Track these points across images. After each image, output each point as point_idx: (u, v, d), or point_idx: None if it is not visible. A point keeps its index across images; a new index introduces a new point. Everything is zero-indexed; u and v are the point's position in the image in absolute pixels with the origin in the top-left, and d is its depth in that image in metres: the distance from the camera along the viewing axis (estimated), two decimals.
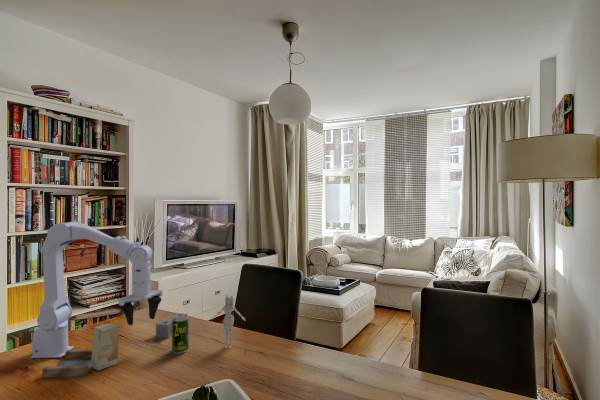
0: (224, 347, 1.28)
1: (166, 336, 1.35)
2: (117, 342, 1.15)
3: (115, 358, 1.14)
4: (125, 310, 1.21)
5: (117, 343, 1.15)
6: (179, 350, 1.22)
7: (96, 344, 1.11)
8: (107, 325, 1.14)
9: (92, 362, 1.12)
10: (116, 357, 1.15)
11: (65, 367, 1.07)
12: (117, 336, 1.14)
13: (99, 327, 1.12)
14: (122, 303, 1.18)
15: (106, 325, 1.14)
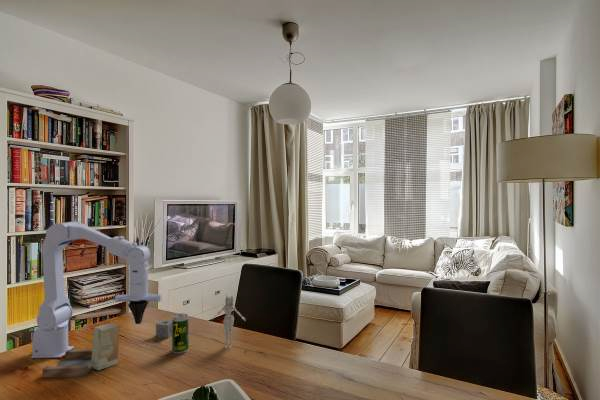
0: (224, 347, 1.28)
1: (166, 336, 1.35)
2: (117, 342, 1.15)
3: (115, 358, 1.14)
4: None
5: (117, 343, 1.15)
6: (179, 350, 1.22)
7: (96, 344, 1.11)
8: (107, 325, 1.14)
9: (92, 362, 1.12)
10: (116, 357, 1.15)
11: (65, 367, 1.07)
12: (117, 336, 1.14)
13: (99, 327, 1.12)
14: (116, 300, 1.20)
15: (106, 325, 1.14)
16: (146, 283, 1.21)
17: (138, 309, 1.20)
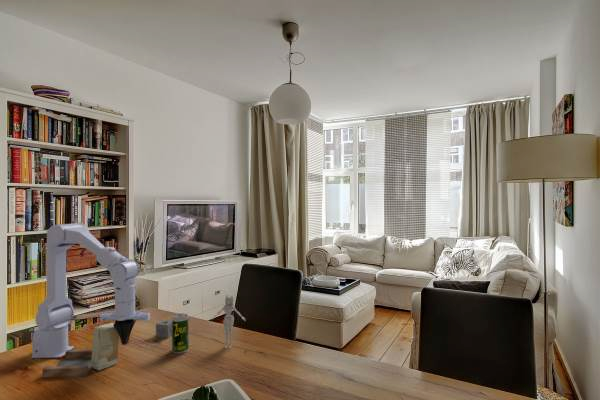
0: (224, 347, 1.28)
1: (166, 336, 1.35)
2: (117, 342, 1.15)
3: (115, 358, 1.14)
4: None
5: (117, 343, 1.15)
6: (179, 350, 1.22)
7: (96, 344, 1.11)
8: (107, 325, 1.14)
9: (92, 362, 1.12)
10: (116, 357, 1.15)
11: (65, 367, 1.07)
12: (117, 336, 1.14)
13: (99, 327, 1.12)
14: (100, 319, 1.12)
15: (106, 325, 1.14)
16: (133, 301, 1.13)
17: (124, 329, 1.12)
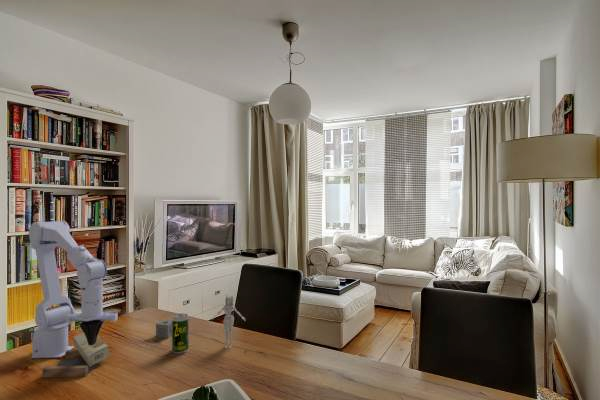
0: (224, 347, 1.28)
1: (166, 336, 1.35)
2: None
3: (102, 344, 1.16)
4: None
5: (97, 336, 1.19)
6: (179, 350, 1.22)
7: (78, 349, 1.16)
8: None
9: (87, 362, 1.13)
10: (103, 343, 1.16)
11: (65, 367, 1.07)
12: None
13: None
14: (67, 320, 1.12)
15: None
16: (100, 301, 1.13)
17: (91, 329, 1.11)
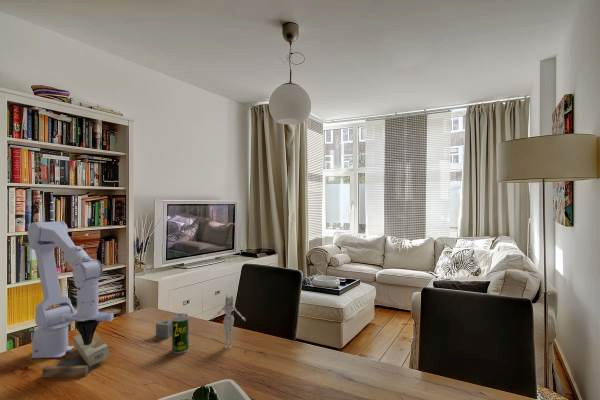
0: (224, 347, 1.28)
1: (166, 336, 1.35)
2: (96, 336, 1.19)
3: (102, 344, 1.16)
4: None
5: (97, 336, 1.19)
6: (179, 350, 1.22)
7: (78, 349, 1.16)
8: None
9: (87, 362, 1.13)
10: (103, 343, 1.16)
11: (65, 367, 1.07)
12: (94, 333, 1.20)
13: None
14: (62, 320, 1.12)
15: None
16: (96, 301, 1.13)
17: (86, 329, 1.11)
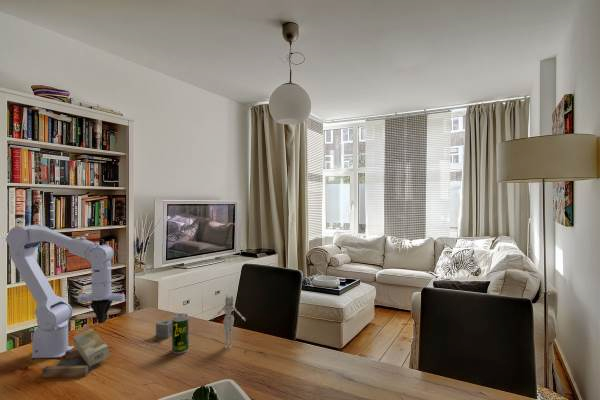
0: (224, 347, 1.28)
1: (166, 336, 1.35)
2: (96, 336, 1.19)
3: (102, 344, 1.16)
4: None
5: (97, 336, 1.19)
6: (179, 350, 1.22)
7: (78, 349, 1.16)
8: None
9: (87, 362, 1.13)
10: (103, 343, 1.16)
11: (65, 367, 1.07)
12: (94, 333, 1.20)
13: None
14: (78, 299, 1.21)
15: None
16: (108, 283, 1.22)
17: (100, 308, 1.20)
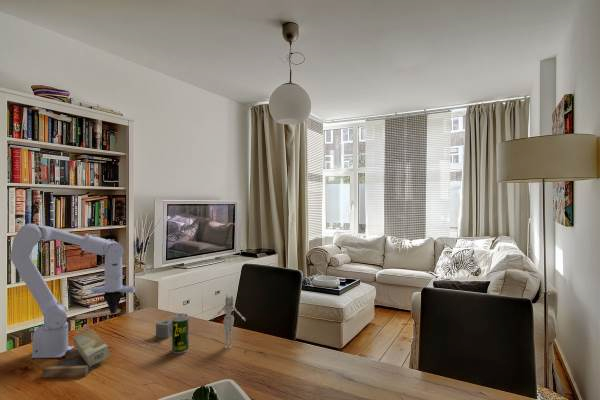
0: (224, 347, 1.28)
1: (166, 336, 1.35)
2: (96, 336, 1.19)
3: (102, 344, 1.16)
4: None
5: (97, 336, 1.19)
6: (179, 350, 1.22)
7: (78, 349, 1.16)
8: None
9: (87, 362, 1.13)
10: (103, 343, 1.16)
11: (65, 367, 1.07)
12: (94, 333, 1.20)
13: None
14: (92, 291, 1.30)
15: None
16: (120, 276, 1.31)
17: (113, 300, 1.30)
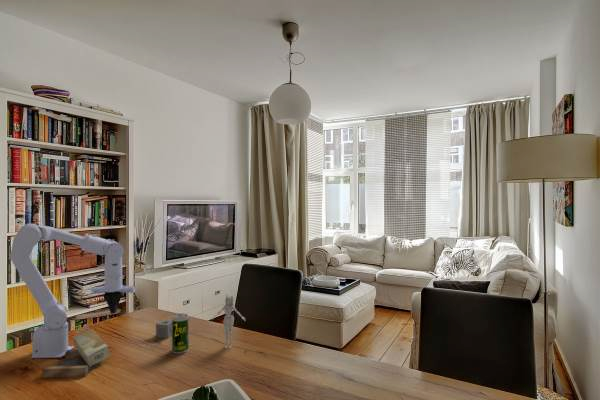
0: (224, 347, 1.28)
1: (166, 336, 1.35)
2: (96, 336, 1.19)
3: (102, 344, 1.16)
4: None
5: (97, 336, 1.19)
6: (179, 350, 1.22)
7: (78, 349, 1.16)
8: None
9: (87, 362, 1.13)
10: (103, 343, 1.16)
11: (65, 367, 1.07)
12: (94, 333, 1.20)
13: None
14: (92, 291, 1.30)
15: None
16: (120, 276, 1.31)
17: (113, 300, 1.30)
